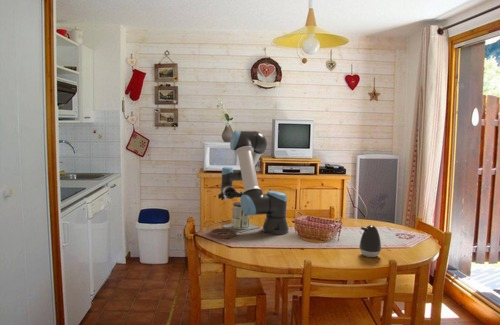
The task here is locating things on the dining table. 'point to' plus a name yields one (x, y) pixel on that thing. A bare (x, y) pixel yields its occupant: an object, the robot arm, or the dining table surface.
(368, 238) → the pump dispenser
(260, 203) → the robot arm
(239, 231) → the slate mat
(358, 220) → the dining table surface
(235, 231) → the walnut ring collar
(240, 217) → the coffee can
